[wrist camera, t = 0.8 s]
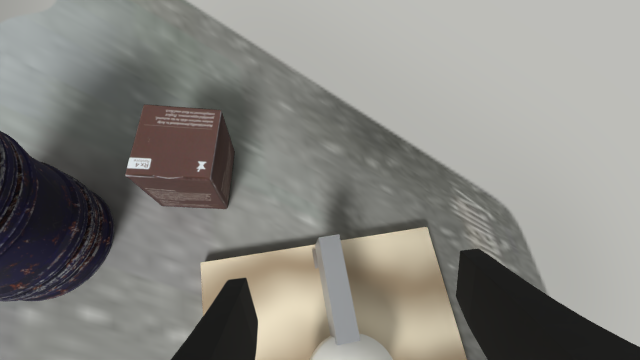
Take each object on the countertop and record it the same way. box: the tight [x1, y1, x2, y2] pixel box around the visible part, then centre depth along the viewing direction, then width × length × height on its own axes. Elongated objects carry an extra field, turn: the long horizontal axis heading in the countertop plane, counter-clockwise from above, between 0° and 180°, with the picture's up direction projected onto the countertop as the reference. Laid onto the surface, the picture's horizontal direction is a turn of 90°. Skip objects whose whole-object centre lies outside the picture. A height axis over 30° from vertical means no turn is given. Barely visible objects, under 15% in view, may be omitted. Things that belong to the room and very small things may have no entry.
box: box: [125, 105, 235, 209], centre depth 27 cm, size 6×6×7 cm
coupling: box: [310, 234, 393, 360], centre depth 23 cm, size 12×6×3 cm, turn 10°
